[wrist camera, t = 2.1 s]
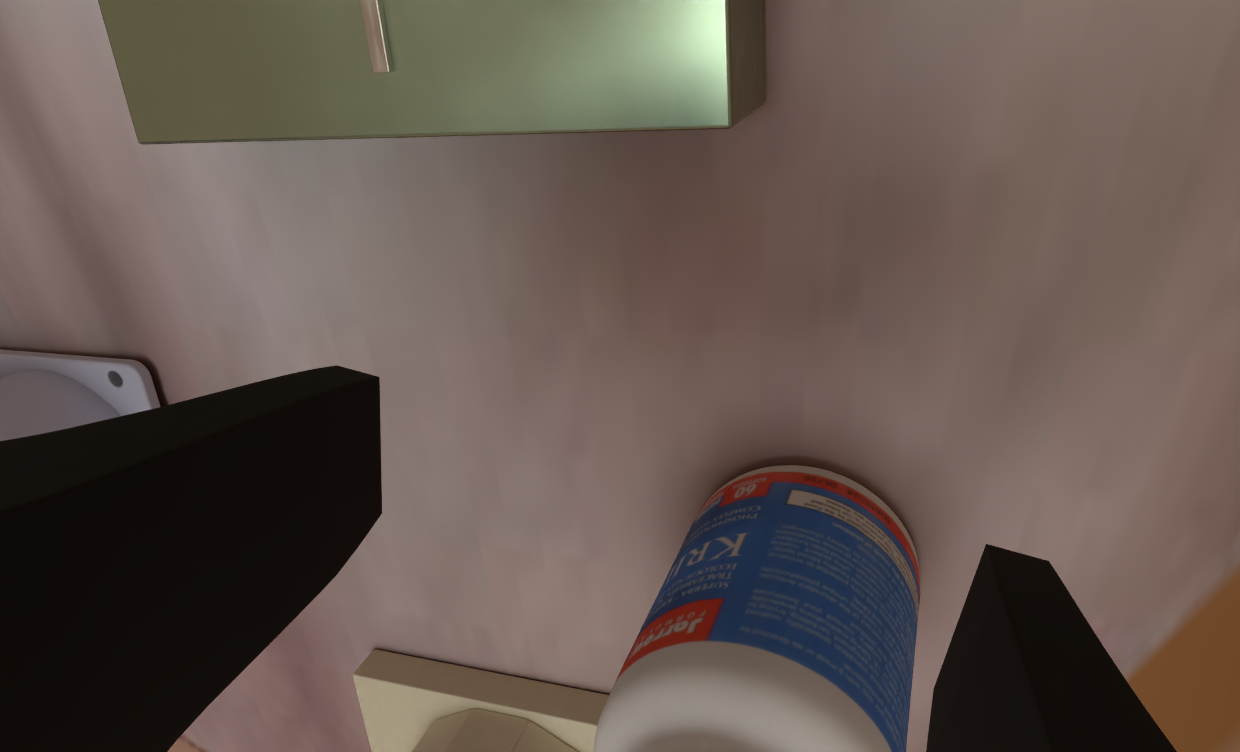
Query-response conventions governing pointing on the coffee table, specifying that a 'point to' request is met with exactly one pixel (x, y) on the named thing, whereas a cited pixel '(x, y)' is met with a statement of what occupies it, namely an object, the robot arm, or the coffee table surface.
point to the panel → (433, 67)
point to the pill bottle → (776, 626)
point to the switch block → (469, 709)
